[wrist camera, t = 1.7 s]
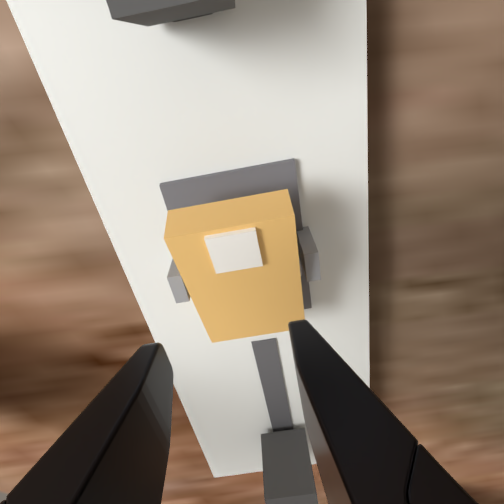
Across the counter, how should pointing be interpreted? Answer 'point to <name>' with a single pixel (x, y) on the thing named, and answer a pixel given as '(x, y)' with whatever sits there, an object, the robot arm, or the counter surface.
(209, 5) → the slider
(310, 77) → the panel
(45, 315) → the counter surface
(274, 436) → the slider
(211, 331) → the tan block
